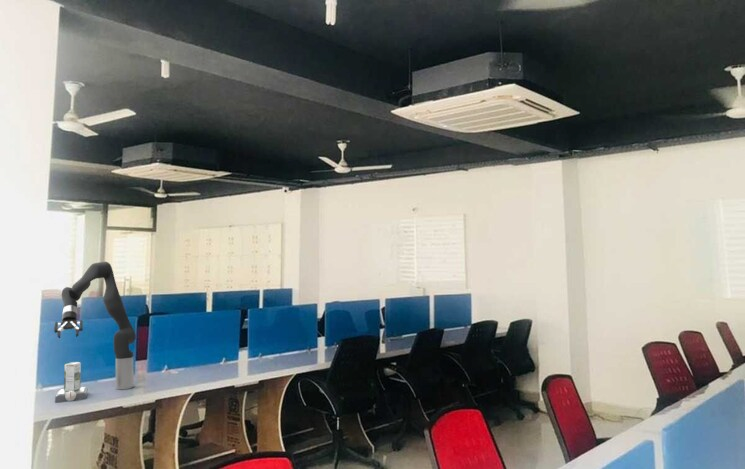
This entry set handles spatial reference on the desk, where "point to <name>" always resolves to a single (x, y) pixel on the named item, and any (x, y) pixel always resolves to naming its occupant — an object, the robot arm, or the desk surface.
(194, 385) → the desk surface
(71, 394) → the scale base
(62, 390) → the scale pan
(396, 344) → the desk surface
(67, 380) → the syrup box
